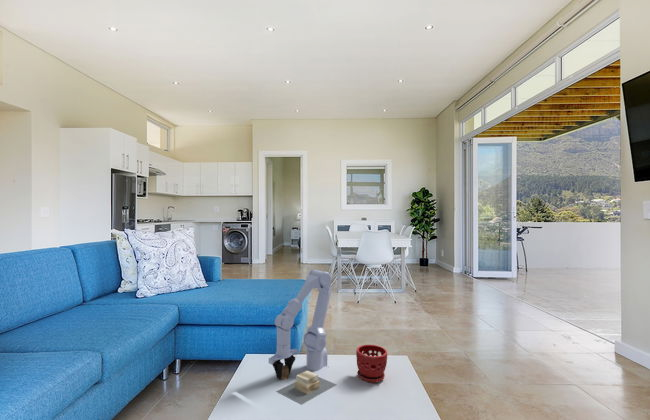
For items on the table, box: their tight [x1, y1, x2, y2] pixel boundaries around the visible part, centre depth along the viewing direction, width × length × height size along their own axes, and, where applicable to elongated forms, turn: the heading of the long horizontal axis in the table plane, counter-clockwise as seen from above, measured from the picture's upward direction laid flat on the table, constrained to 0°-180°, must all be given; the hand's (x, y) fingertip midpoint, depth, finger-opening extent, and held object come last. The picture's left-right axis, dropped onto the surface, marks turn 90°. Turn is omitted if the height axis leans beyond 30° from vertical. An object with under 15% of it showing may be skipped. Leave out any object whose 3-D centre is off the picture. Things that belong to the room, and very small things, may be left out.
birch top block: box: [296, 370, 319, 387], centre depth 133 cm, size 6×6×2 cm
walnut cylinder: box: [280, 364, 290, 380], centre depth 142 cm, size 4×4×5 cm
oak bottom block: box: [294, 381, 320, 394], centre depth 133 cm, size 7×7×2 cm
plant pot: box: [355, 344, 388, 384], centre depth 144 cm, size 13×13×12 cm
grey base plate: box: [275, 376, 337, 405], centre depth 133 cm, size 20×14×1 cm
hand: (283, 376), depth 142 cm, fingers closed on walnut cylinder, 4 cm apart
